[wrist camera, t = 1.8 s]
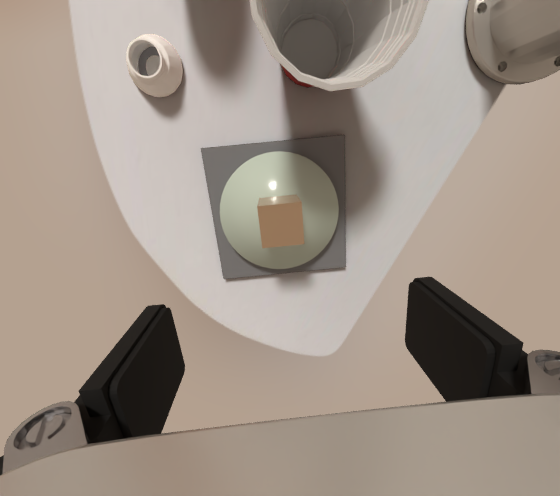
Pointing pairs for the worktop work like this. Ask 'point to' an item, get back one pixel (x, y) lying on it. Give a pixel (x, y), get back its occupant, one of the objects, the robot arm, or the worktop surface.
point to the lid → (279, 210)
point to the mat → (317, 149)
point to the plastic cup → (337, 38)
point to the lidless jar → (155, 66)
